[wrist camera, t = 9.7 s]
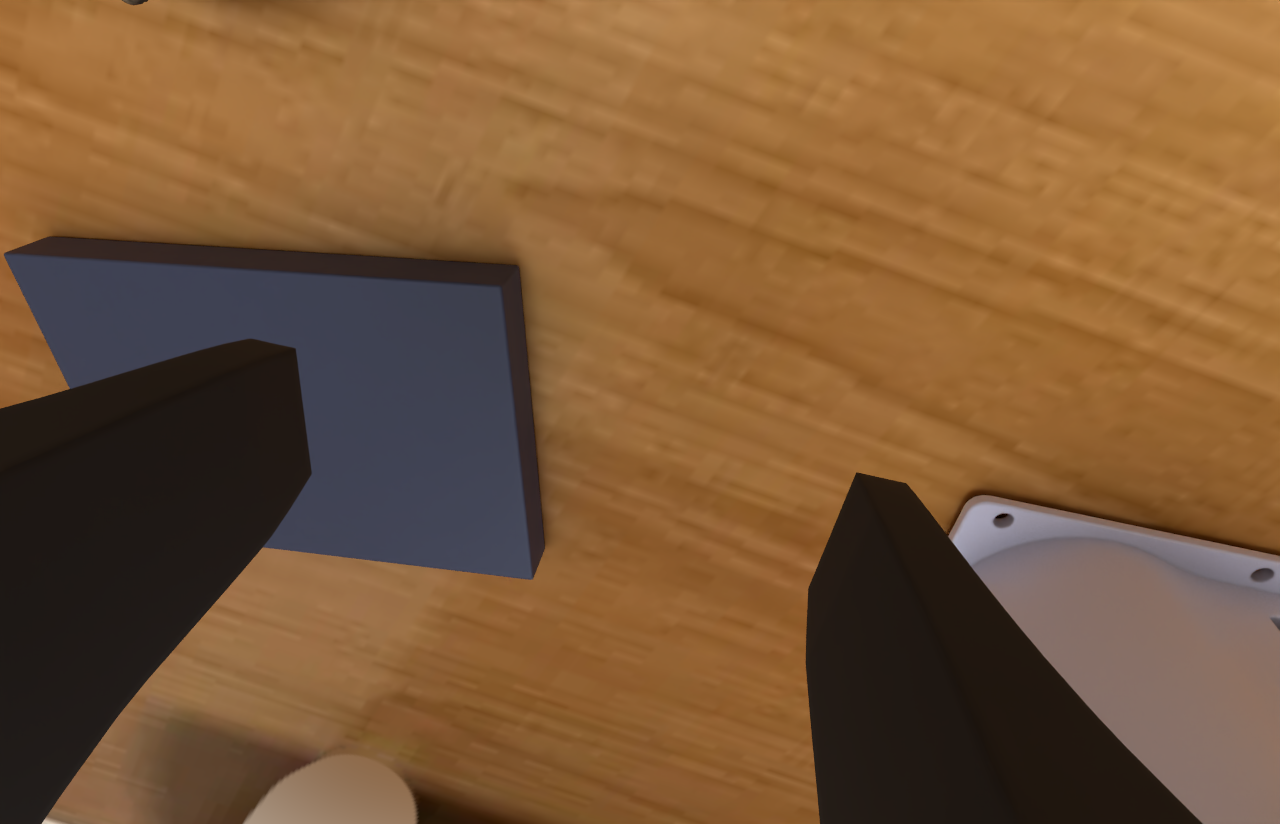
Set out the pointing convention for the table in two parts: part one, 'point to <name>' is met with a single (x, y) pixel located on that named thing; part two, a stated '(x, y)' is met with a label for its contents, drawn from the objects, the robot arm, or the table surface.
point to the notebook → (336, 381)
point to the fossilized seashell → (134, 1)
